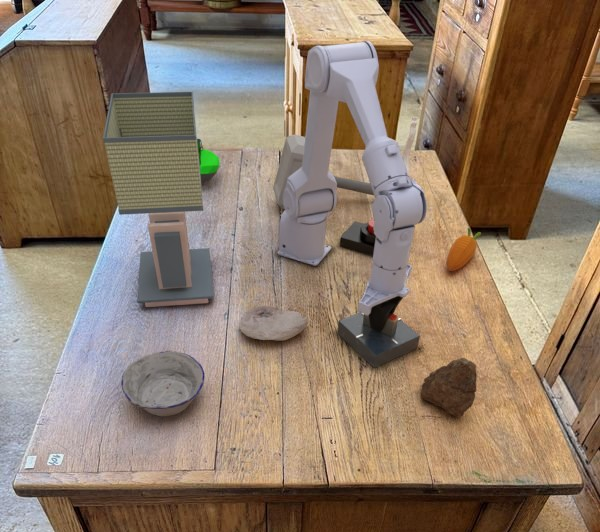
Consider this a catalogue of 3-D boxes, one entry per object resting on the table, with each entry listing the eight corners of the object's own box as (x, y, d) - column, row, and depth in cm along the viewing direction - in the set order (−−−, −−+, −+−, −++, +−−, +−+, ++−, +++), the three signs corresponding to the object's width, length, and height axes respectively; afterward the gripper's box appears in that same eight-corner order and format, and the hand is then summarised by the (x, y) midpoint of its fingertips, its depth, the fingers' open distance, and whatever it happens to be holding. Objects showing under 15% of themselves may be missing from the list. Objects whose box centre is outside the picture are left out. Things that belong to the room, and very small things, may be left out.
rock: (413, 388, 97) (436, 343, 90) (446, 389, 99) (471, 344, 92) (434, 430, 90) (461, 384, 83) (468, 430, 92) (497, 385, 85)
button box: (339, 246, 127) (341, 229, 124) (353, 229, 132) (355, 213, 129) (381, 258, 124) (384, 242, 121) (394, 241, 129) (397, 225, 126)
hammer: (406, 158, 138) (287, 130, 129) (416, 173, 133) (293, 145, 123) (383, 215, 148) (271, 193, 139) (391, 230, 143) (275, 209, 134)
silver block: (362, 323, 104) (364, 306, 101) (367, 319, 104) (369, 302, 102) (391, 337, 101) (394, 320, 98) (395, 332, 102) (399, 315, 99)
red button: (364, 232, 124) (365, 225, 123) (371, 224, 126) (372, 217, 125) (380, 236, 123) (381, 229, 122) (386, 229, 125) (387, 221, 124)
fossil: (229, 322, 101) (251, 293, 108) (231, 342, 104) (252, 312, 111) (294, 335, 98) (312, 304, 105) (294, 354, 101) (312, 323, 108)
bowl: (220, 409, 92) (217, 388, 89) (143, 439, 88) (137, 419, 84) (188, 361, 100) (185, 340, 96) (116, 387, 95) (110, 365, 91)
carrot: (466, 268, 116) (488, 234, 125) (446, 254, 116) (470, 220, 125) (452, 284, 120) (475, 249, 129) (433, 270, 120) (457, 236, 129)
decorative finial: (407, 238, 130) (429, 124, 112) (390, 238, 129) (408, 124, 111) (402, 225, 134) (422, 112, 116) (385, 225, 133) (402, 112, 115)
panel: (336, 333, 106) (338, 320, 104) (379, 315, 110) (381, 302, 108) (373, 368, 100) (375, 355, 98) (417, 348, 104) (420, 334, 102)
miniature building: (175, 170, 149) (169, 127, 141) (220, 169, 150) (217, 126, 142) (173, 192, 141) (167, 147, 133) (221, 191, 142) (217, 147, 134)
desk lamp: (214, 309, 110) (197, 135, 86) (139, 314, 108) (100, 138, 84) (210, 256, 122) (194, 91, 99) (142, 260, 121) (109, 93, 97)
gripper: (389, 290, 87) (377, 356, 97) (433, 249, 95) (418, 314, 105) (350, 273, 90) (342, 339, 100) (395, 235, 98) (384, 300, 108)
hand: (379, 326), depth 102 cm, fingers closed on silver block, 2 cm apart
